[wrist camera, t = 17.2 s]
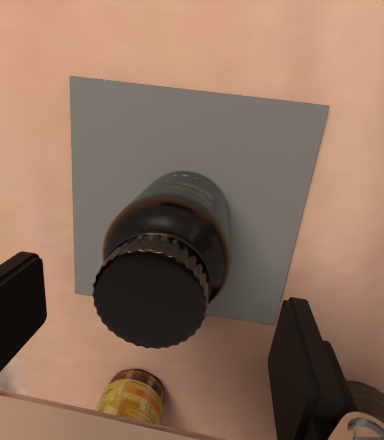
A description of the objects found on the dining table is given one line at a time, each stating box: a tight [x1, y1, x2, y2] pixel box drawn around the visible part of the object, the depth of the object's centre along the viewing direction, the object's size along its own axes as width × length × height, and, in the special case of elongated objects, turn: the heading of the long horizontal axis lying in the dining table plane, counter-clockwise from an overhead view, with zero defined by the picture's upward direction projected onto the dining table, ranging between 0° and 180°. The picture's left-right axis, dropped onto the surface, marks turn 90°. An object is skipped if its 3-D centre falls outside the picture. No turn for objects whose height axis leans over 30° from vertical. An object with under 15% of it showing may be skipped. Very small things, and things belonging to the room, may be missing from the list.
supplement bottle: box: [92, 171, 231, 349], centre depth 18 cm, size 7×7×12 cm
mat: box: [70, 76, 329, 325], centre depth 24 cm, size 18×18×1 cm
